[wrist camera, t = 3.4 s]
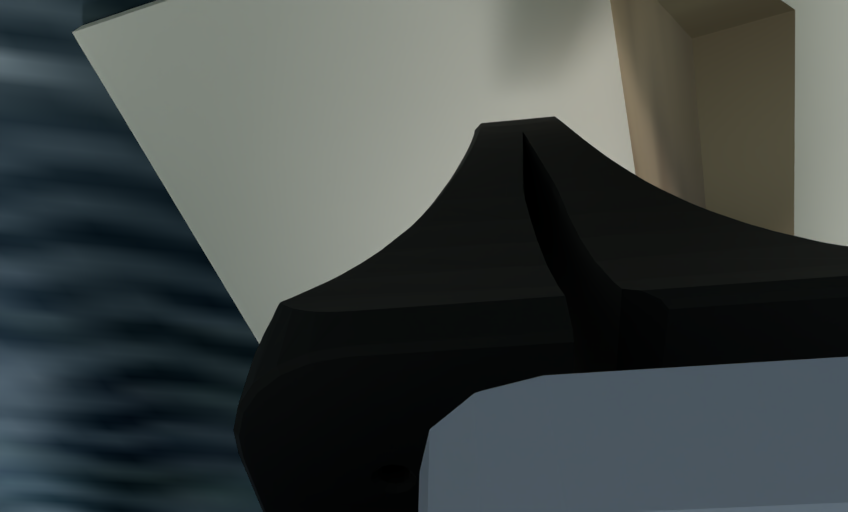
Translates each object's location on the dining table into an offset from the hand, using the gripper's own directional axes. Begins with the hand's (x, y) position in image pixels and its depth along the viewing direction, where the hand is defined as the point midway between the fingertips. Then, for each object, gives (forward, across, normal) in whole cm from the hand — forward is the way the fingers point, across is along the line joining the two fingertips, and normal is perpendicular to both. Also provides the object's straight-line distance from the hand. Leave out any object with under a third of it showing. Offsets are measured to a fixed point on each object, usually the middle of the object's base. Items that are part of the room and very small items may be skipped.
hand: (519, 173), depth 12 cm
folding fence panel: (+2, -3, +2) cm, 4 cm away
